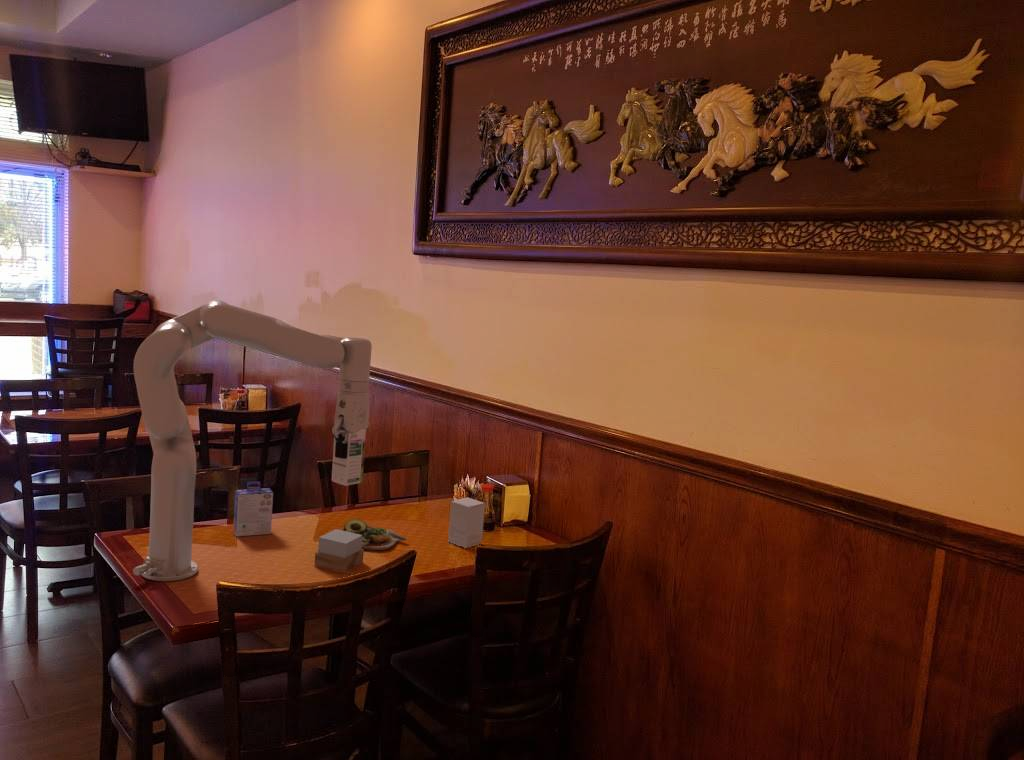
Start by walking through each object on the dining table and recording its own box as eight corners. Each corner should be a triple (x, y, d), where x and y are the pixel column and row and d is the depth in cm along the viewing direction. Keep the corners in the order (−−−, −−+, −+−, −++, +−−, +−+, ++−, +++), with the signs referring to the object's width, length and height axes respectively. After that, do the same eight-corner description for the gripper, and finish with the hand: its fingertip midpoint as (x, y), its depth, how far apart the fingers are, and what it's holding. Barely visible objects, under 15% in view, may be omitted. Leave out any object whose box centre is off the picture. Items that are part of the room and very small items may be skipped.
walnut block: (345, 575, 200) (346, 559, 200) (314, 567, 203) (315, 552, 202) (362, 563, 209) (363, 549, 208) (332, 557, 211) (333, 542, 211)
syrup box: (345, 486, 199) (350, 430, 198) (330, 481, 203) (334, 425, 201) (362, 483, 204) (367, 428, 202) (347, 478, 207) (351, 423, 206)
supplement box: (482, 544, 232) (486, 502, 231) (465, 549, 226) (469, 506, 225) (464, 537, 237) (467, 496, 235) (446, 542, 231) (450, 500, 229)
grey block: (344, 558, 200) (346, 543, 200) (317, 552, 203) (319, 537, 202) (361, 549, 208) (362, 535, 207) (335, 543, 210) (336, 529, 210)
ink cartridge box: (267, 528, 228) (270, 479, 226) (272, 534, 223) (275, 484, 221) (231, 530, 223) (234, 481, 221) (235, 537, 218) (238, 486, 216)
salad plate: (412, 536, 234) (413, 521, 234) (397, 556, 217) (399, 540, 216) (348, 528, 236) (349, 513, 235) (329, 547, 218) (330, 531, 218)
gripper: (348, 392, 191) (343, 464, 193) (383, 385, 207) (378, 451, 210) (321, 388, 193) (317, 459, 195) (358, 381, 210) (353, 447, 212)
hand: (348, 454), depth 202 cm, fingers closed on syrup box, 6 cm apart
